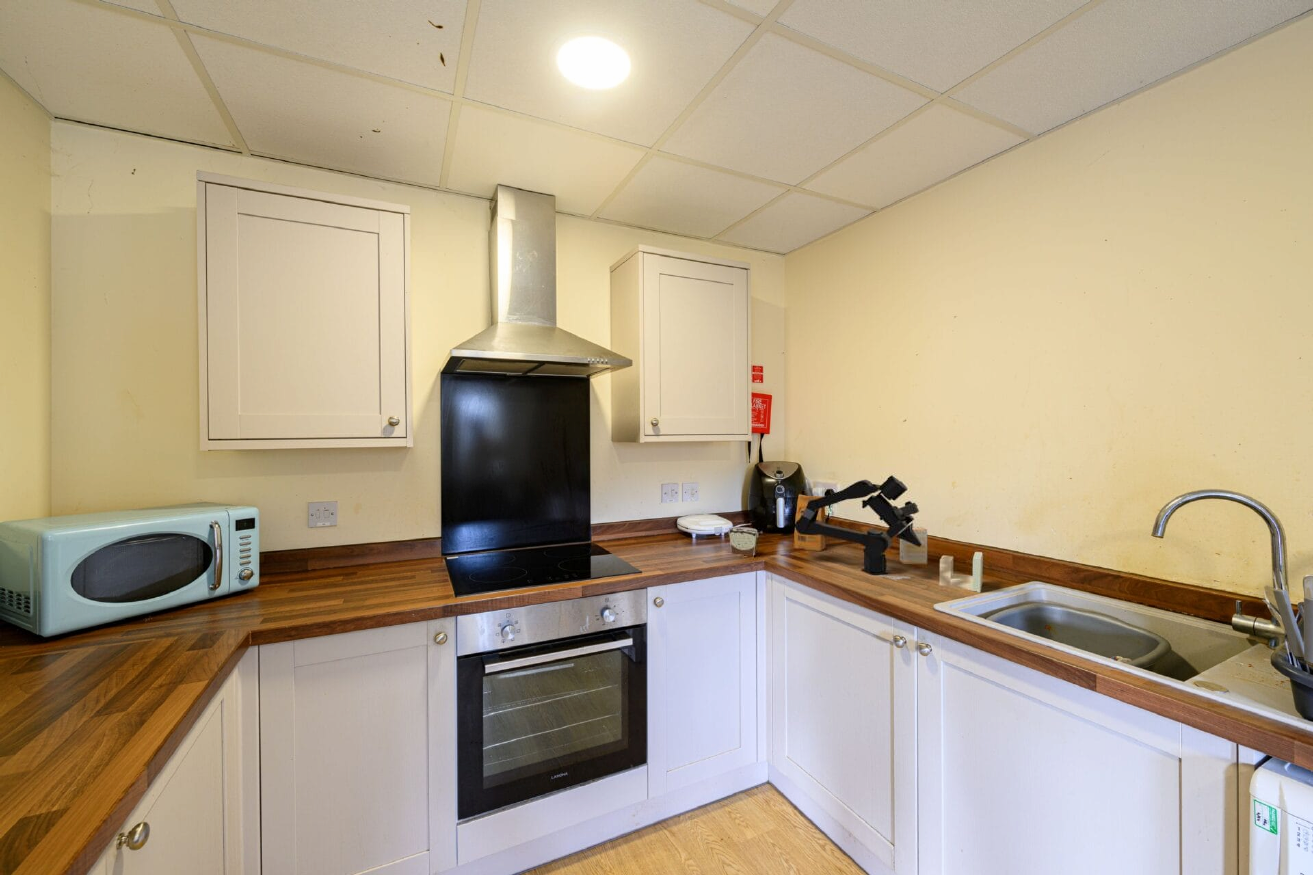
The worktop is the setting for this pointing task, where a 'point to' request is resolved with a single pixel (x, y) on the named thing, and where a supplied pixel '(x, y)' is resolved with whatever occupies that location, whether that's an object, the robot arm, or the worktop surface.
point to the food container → (743, 540)
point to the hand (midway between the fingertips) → (920, 545)
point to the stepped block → (953, 575)
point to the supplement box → (914, 548)
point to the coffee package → (809, 540)
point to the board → (977, 571)
